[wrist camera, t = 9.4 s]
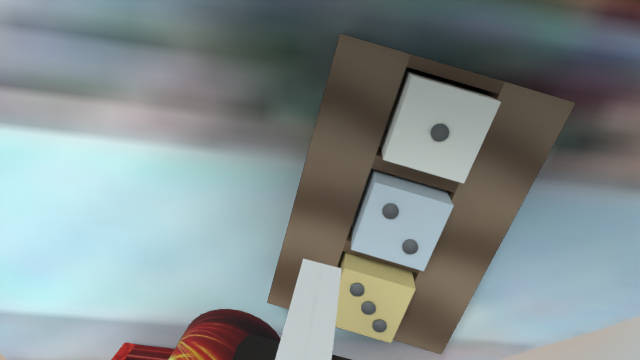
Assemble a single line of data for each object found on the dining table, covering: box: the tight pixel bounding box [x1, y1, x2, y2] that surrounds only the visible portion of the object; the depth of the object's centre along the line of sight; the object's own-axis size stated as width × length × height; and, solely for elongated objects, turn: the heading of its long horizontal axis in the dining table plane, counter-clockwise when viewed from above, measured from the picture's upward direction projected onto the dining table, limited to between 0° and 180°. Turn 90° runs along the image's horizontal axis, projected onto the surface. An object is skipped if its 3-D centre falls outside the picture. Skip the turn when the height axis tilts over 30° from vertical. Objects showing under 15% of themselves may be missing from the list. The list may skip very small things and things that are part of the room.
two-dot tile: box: [351, 169, 454, 271], centre depth 25 cm, size 5×5×4 cm
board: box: [267, 34, 576, 354], centre depth 26 cm, size 20×14×2 cm
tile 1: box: [335, 251, 416, 343], centre depth 28 cm, size 5×5×4 cm
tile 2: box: [381, 71, 501, 184], centre depth 23 cm, size 5×5×4 cm
